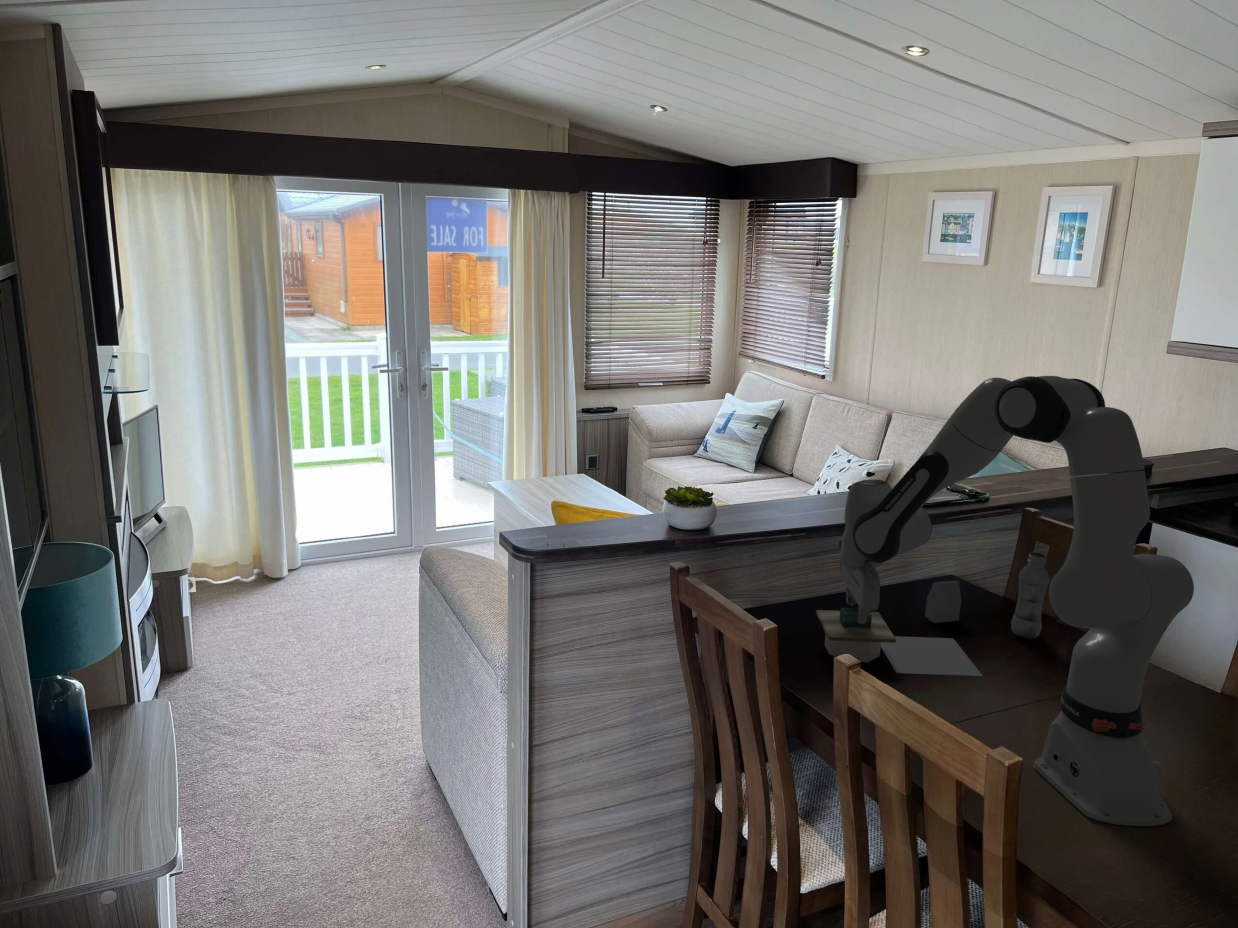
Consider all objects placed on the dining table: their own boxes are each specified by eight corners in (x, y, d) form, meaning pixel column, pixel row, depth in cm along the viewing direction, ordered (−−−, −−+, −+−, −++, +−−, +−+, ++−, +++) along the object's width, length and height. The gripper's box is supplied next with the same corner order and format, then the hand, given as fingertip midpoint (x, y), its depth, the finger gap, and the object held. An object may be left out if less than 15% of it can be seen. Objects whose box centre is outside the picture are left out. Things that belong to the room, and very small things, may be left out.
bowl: (883, 665, 195) (886, 639, 193) (831, 663, 195) (834, 637, 193) (870, 642, 205) (872, 617, 204) (821, 640, 205) (823, 616, 204)
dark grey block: (958, 623, 218) (963, 583, 215) (933, 625, 216) (938, 585, 213) (948, 616, 221) (954, 578, 218) (924, 618, 219) (929, 580, 217)
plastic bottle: (1033, 630, 214) (1046, 550, 209) (1044, 643, 208) (1057, 561, 203) (1005, 628, 215) (1017, 548, 210) (1014, 641, 209) (1027, 559, 204)
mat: (982, 678, 190) (982, 675, 190) (896, 675, 190) (896, 672, 190) (952, 640, 208) (953, 638, 208) (873, 637, 208) (874, 635, 208)
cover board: (895, 642, 192) (897, 626, 191) (829, 640, 192) (830, 623, 191) (878, 615, 205) (879, 599, 204) (815, 613, 205) (817, 597, 204)
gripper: (890, 571, 184) (883, 634, 188) (865, 537, 204) (859, 595, 207) (859, 569, 184) (852, 633, 188) (837, 536, 204) (831, 594, 207)
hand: (855, 613), depth 198 cm, fingers open, 8 cm apart
